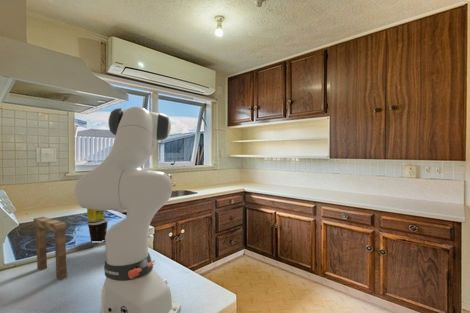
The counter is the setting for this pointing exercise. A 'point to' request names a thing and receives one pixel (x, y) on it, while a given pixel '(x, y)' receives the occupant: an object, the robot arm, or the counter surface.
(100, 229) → the coffee mug
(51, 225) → the walnut archway
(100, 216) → the pill bottle
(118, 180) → the robot arm
